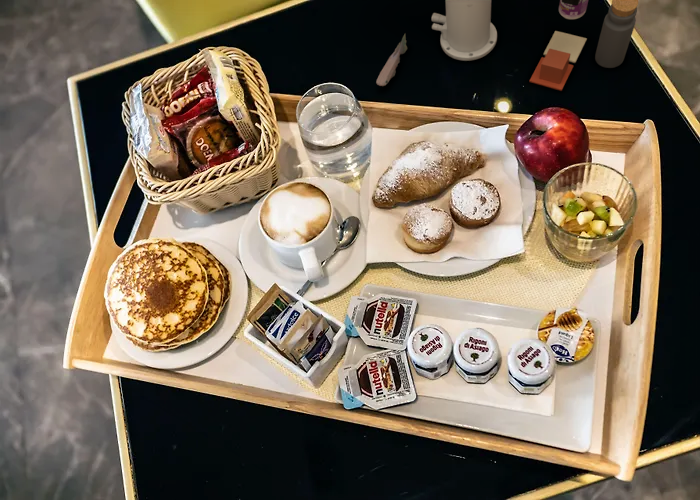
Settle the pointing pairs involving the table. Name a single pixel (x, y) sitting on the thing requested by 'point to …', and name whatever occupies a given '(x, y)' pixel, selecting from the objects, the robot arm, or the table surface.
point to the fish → (391, 64)
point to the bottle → (616, 33)
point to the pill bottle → (573, 9)
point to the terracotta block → (554, 66)
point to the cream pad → (566, 44)
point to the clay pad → (549, 84)
